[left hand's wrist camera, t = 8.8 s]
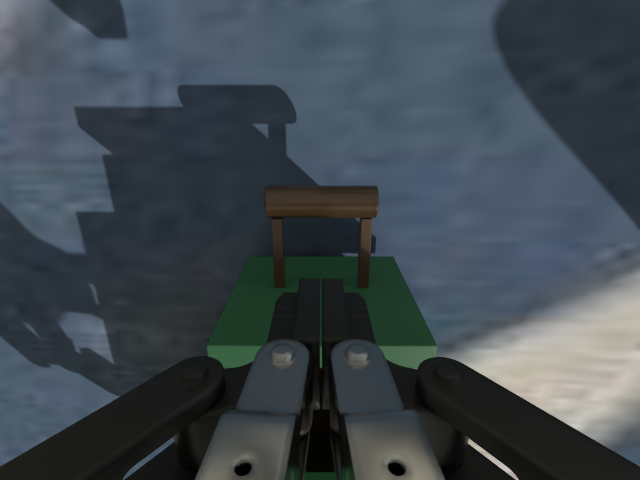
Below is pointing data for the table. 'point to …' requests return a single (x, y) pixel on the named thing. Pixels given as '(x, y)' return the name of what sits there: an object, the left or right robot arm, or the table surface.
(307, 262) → the drawer
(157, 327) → the table surface
